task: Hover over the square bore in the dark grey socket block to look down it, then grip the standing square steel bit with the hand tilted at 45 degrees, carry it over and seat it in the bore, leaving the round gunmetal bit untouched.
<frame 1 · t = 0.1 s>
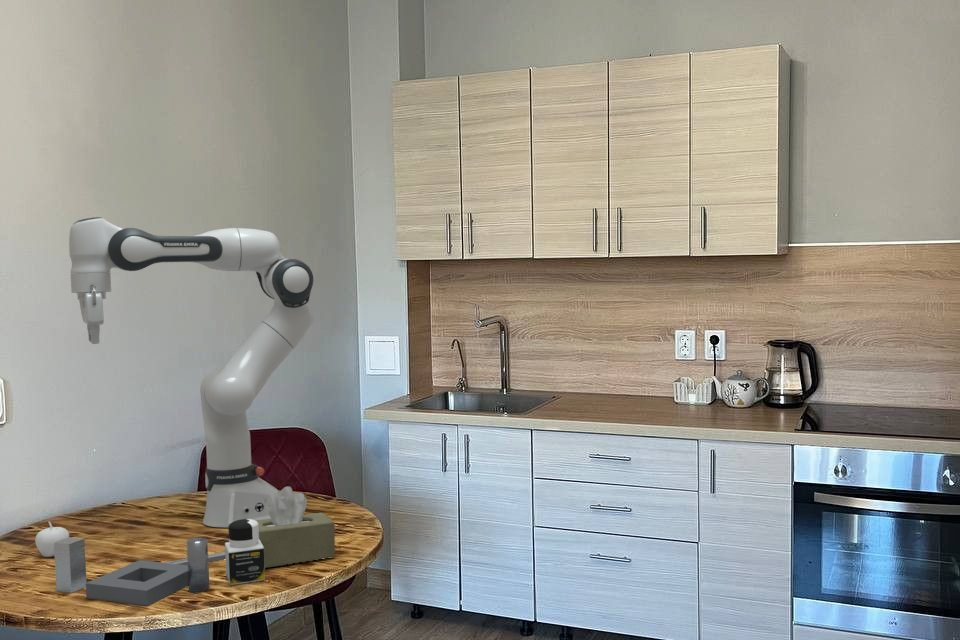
hand: (94, 342, 218), 48 cm above the table, tool pointing down, fingers open, 8 cm apart
square bit: (71, 588, 185), on the table
medicine bottle: (245, 579, 188), on the table, touching tissue box
socket block: (143, 589, 183), on the table
adjustable wrench: (217, 561, 202), on the table
tissue box: (288, 558, 200), on the table, touching medicine bottle
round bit: (199, 589, 182), on the table
plain white apple: (53, 555, 209), on the table
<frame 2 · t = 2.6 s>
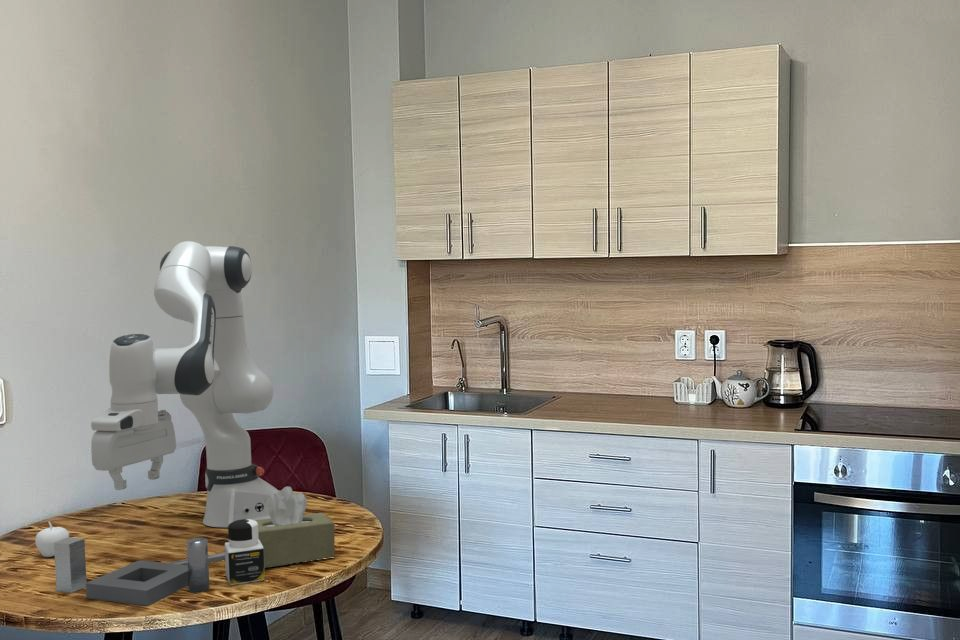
hand: (137, 484, 182), 22 cm above the table, tool pointing down, fingers open, 8 cm apart
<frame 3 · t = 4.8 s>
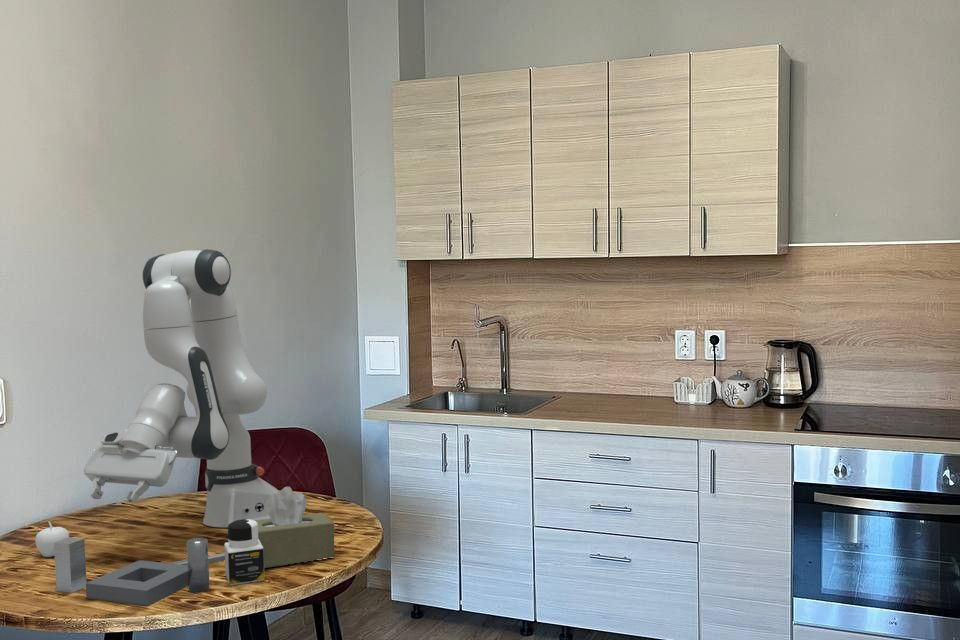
hand: (112, 499, 195), 16 cm above the table, tool tilted 45°, fingers open, 8 cm apart
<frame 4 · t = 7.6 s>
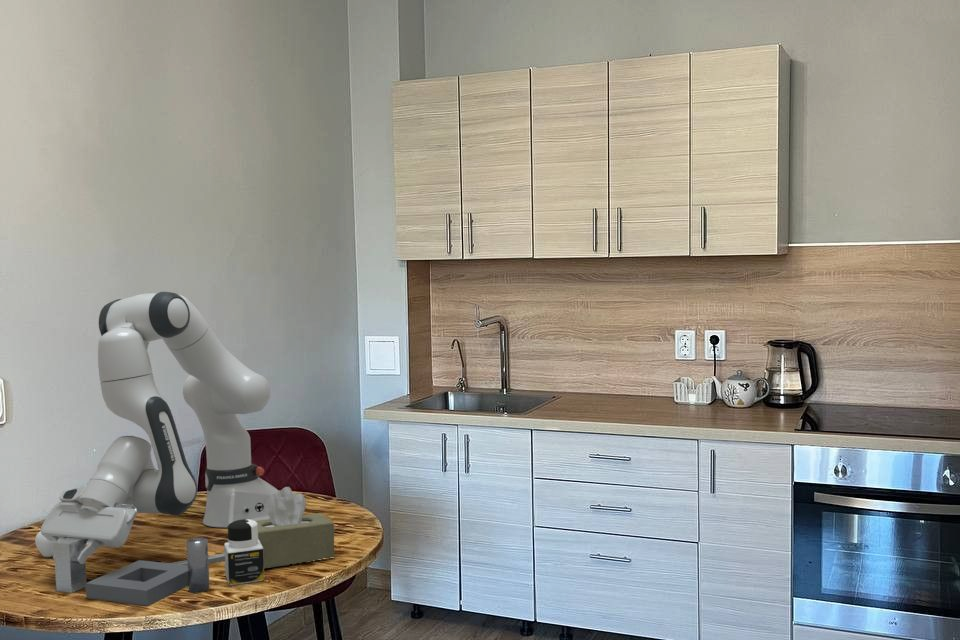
hand: (67, 561, 184), 6 cm above the table, tool tilted 45°, fingers closed on square bit, 4 cm apart
square bit: (71, 588, 185), on the table, touching gripper
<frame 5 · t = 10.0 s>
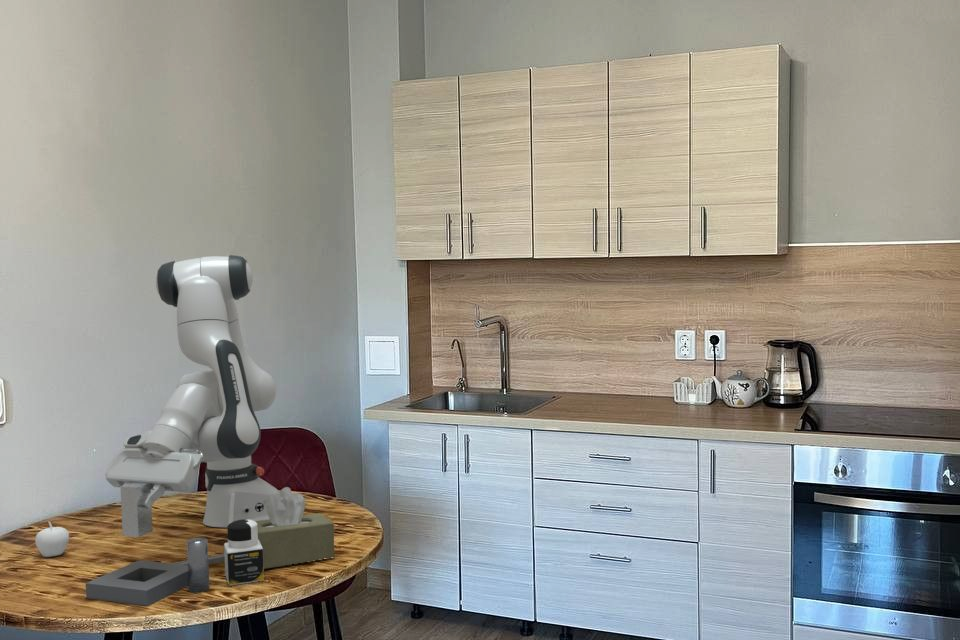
hand: (134, 505, 182), 17 cm above the table, tool tilted 45°, fingers closed on square bit, 4 cm apart
square bit: (137, 533, 183), point 11 cm above the table, touching gripper
when the fingers open (7 cm above the table, at t = 12.3 s): square bit stays where it is, resting in socket block.
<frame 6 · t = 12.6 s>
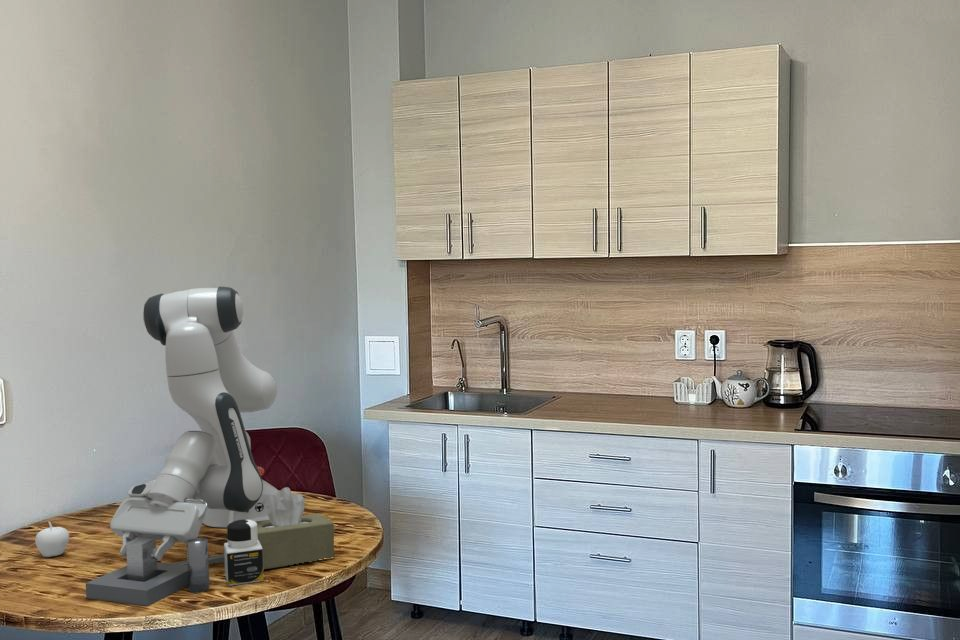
hand: (139, 556, 182), 7 cm above the table, tool tilted 45°, fingers open, 6 cm apart
square bit: (143, 589, 183), resting in socket block
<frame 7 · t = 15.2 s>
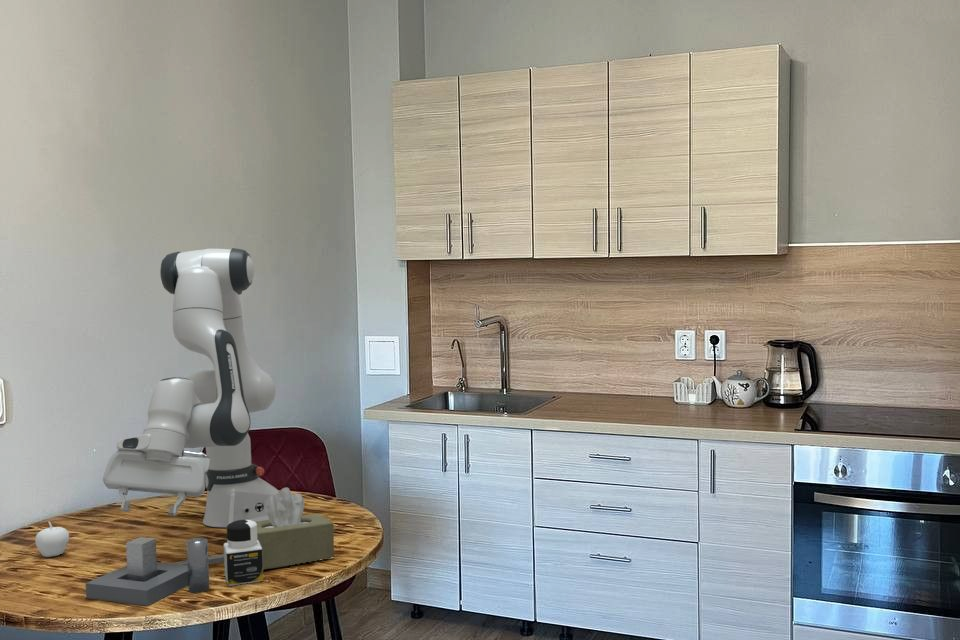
hand: (148, 513, 186), 15 cm above the table, tool tilted 30°, fingers open, 8 cm apart
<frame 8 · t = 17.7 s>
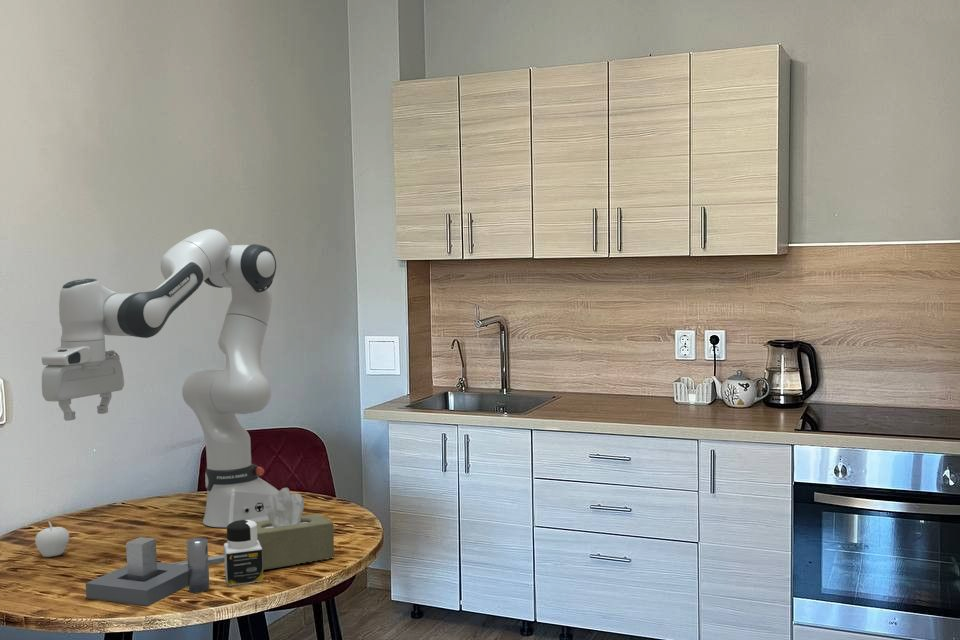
hand: (86, 416, 198), 33 cm above the table, tool pointing down, fingers open, 8 cm apart
at the end: square bit 0.0 cm off-centre on the socket block, point 0.0 cm above the socket block's base; square bit tilted 0°; the gripper is holding nothing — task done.
